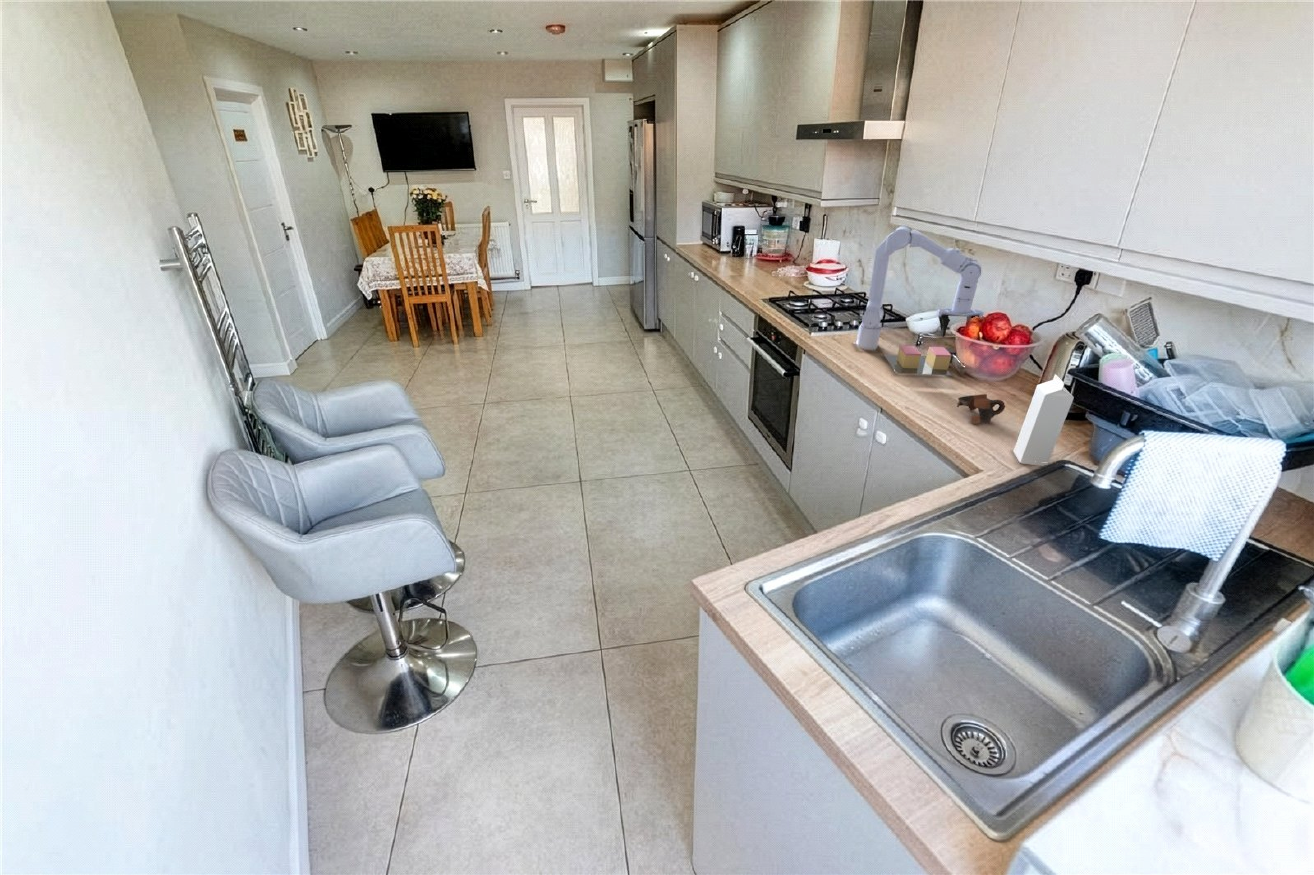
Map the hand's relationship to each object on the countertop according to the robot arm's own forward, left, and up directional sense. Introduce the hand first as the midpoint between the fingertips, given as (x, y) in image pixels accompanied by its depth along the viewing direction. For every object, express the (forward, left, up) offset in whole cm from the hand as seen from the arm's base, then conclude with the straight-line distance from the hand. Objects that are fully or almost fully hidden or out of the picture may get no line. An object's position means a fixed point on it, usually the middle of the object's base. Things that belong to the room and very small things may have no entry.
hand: (953, 336), depth 197 cm
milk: (+69, -3, -9) cm, 70 cm away
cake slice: (+7, -6, -8) cm, 13 cm away
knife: (+6, 0, -9) cm, 11 cm away
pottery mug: (+46, -7, -9) cm, 47 cm away
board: (+7, -13, -9) cm, 17 cm away
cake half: (+7, -16, -8) cm, 19 cm away
